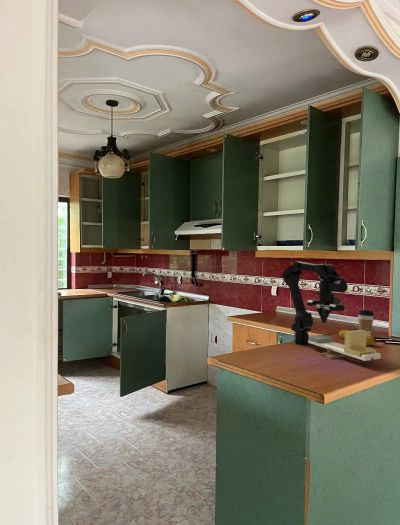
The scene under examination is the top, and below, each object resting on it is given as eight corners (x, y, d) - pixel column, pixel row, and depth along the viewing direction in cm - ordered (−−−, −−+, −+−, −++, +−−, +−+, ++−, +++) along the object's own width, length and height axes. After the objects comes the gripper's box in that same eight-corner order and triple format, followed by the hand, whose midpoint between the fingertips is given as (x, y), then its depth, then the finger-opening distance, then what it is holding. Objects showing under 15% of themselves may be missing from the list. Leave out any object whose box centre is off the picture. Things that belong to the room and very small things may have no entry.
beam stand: (320, 355, 173) (320, 347, 173) (345, 352, 181) (345, 344, 181) (330, 358, 168) (331, 351, 168) (355, 355, 176) (356, 347, 176)
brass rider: (343, 353, 166) (345, 331, 165) (359, 351, 170) (360, 329, 170) (359, 358, 159) (360, 335, 158) (375, 356, 163) (376, 333, 163)
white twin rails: (308, 342, 184) (308, 336, 184) (323, 340, 189) (323, 334, 189) (364, 360, 156) (364, 353, 156) (380, 358, 161) (380, 351, 161)
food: (375, 346, 197) (376, 334, 196) (368, 347, 194) (368, 335, 194) (341, 337, 215) (342, 326, 215) (334, 338, 212) (335, 327, 212)
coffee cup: (356, 336, 217) (357, 310, 217) (357, 333, 225) (358, 308, 224) (372, 338, 213) (373, 311, 213) (373, 335, 221) (374, 310, 220)
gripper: (353, 292, 178) (351, 325, 178) (323, 288, 194) (321, 318, 194) (336, 292, 172) (334, 327, 173) (306, 288, 189) (305, 319, 189)
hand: (324, 323), depth 182 cm, fingers closed
